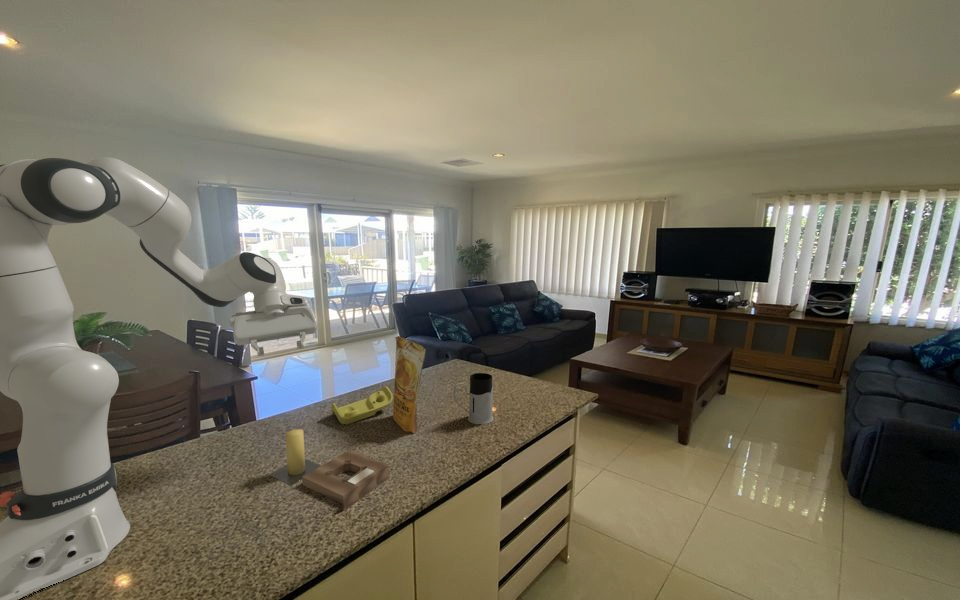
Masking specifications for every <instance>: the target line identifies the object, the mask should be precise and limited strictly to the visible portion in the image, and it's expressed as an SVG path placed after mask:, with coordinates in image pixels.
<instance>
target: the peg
mask: <svg viewBox="0 0 960 600" xmlns="http://www.w3.org/2000/svg"><path fill="white" fill-rule="evenodd" d="M304 434H305V433H304V429H300V428H299V429H297V428H296V429H292V430H289V431H287V432H285V445H286V446H285V447H286V448H285V449H286V465H287V468H288V474H289V475H298V474H301V473H303V472H304V471H305V459H306V455H305V453H306V452H305V435H304Z"/></svg>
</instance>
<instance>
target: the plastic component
mask: <svg viewBox="0 0 960 600" xmlns="http://www.w3.org/2000/svg"><path fill="white" fill-rule="evenodd" d="M393 400H394V393H393V392H392V391H391V389H390V388H389V387H388V386H387V385H385V386H383V387H382V388H380V390H379V391H376V392H373V393H372V394H370V395H369V396H368V397H366V398H364V399H360V400H358V401H355V402H352V403H349V404H346V405H343V406H339V407H338V406H337V404H336V403H335V402H333V403H332V404H331V409H330V412H331V414H332V415H335V417H336V418H337V420H338V422H339V423H340V424H342V425H344V424H345V425H350V424H353V423H355V422H359V421H361V420H364V419H367V418H369V417H373V416H375V415H376V414H377V412H380V411H381V410H384V409H385V408H387V407H388V406H389V405H390V404H392V402H393ZM349 423H350V424H349Z"/></svg>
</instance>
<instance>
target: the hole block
mask: <svg viewBox="0 0 960 600" xmlns="http://www.w3.org/2000/svg"><path fill="white" fill-rule="evenodd" d="M320 466H321V467H319V468H317V469H315V470H314V471H312V472H310V473H308V474H307V475H305V476H303V477H302V480H301V482H302V486H304V487H305V488H308V489H309V490H312V491H314V492H316V493H319V494H321V495H322V496H324V497H326V498H329V499H331V500H333V501H335V502H337V503H340V504H341V505H339V506H337V508H338V509H339V510H341V511H346V510H347V509H349V508H350V507H352V506H353V505H354V504H356V503H357V502H358V501H359V500H361V499H362V498H363V497H365V496H366V495H368V494H369V493H370V492H371V491H373V490H374V489H376V488H377V487H378V486H379V485H381V484H382V483H384V482H386V481H387V480H388V479H389V478H390V477H389V475H390V474H389V473H390V472H389V470H390V469H389V464H387V463H386V462H382V461H379V460H377V459H374V458H371V457H369V456H366V455H363V454H360V453H358V452H355V451H353V450H347V451H345V452H343V453H342V454H340V455H338V456H336V457H335V458H333V459H331V460H330V461H328V462H326V463H324V464H323V465H320ZM345 472H346V473H347V472H353V473H354V474H353V475H351V476H350V477H346V478H341V477H339V476H340V475H342V474H343V473H345Z"/></svg>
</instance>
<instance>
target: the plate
mask: <svg viewBox="0 0 960 600" xmlns="http://www.w3.org/2000/svg"><path fill="white" fill-rule="evenodd" d="M321 466H322V465H320V464H318V463H315V462H313V461H311V460H309V459H306V458H305V471H304V472H303V473H301V474H298V475H289V474H288V468H287V464H286V465H284V466H282V467H280V468H278V469H276V470H275V471H272V472H271V473H269V474H268V476H270V477H272V478H275V479H277V480H278V481H281V482H283V483H285V484H286V485H289V486H291V487H292V486H294V485H295V484H297V483H299V482H302V477H303V476H305V475H307V474H308V473H310V472H312V471H314V470H315V469H317V468H319V467H321Z"/></svg>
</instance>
